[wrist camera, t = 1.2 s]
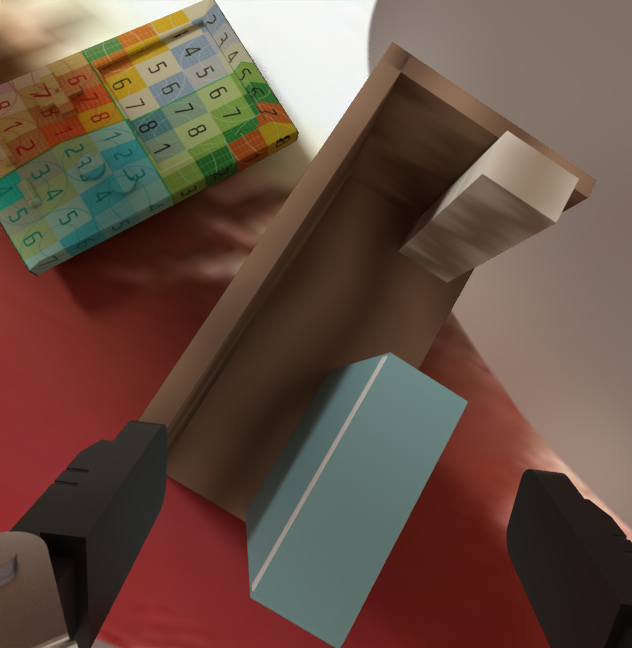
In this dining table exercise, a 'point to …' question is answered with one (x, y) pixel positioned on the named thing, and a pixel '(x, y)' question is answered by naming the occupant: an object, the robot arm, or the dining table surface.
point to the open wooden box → (355, 268)
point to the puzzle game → (129, 132)
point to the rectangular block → (345, 491)
